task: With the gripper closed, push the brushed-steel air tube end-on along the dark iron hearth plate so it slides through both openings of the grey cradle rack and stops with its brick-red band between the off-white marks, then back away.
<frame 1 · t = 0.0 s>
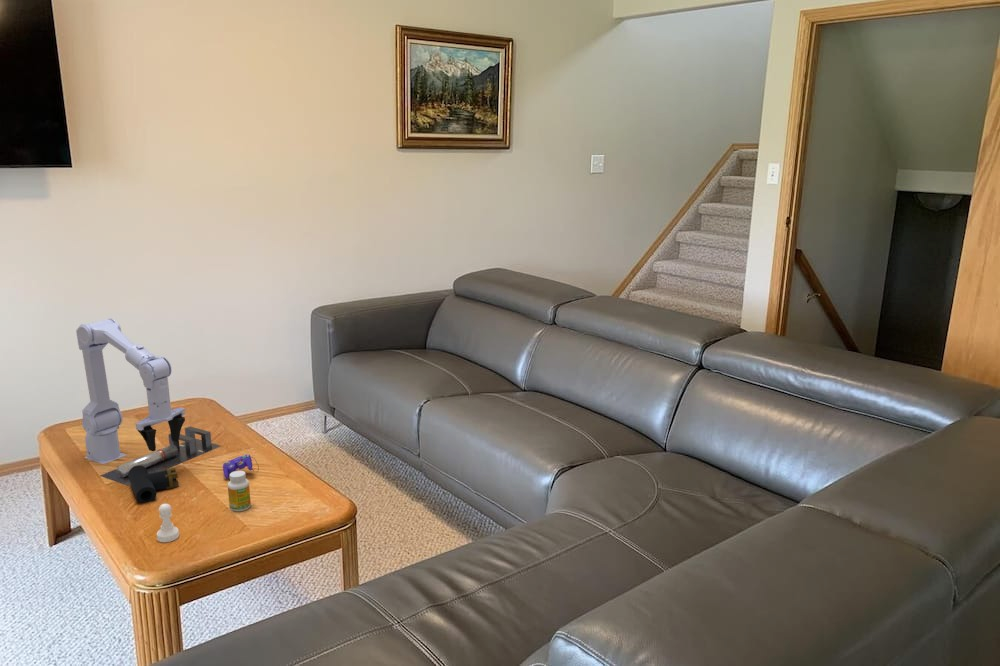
hand: (163, 445, 214), 10 cm above the table, tool pointing down, fingers open, 7 cm apart
game controller: (239, 475, 219), on the table
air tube: (149, 466, 223), point 1 cm above the table, touching grey cradle rack
chess pawn: (168, 538, 184), on the table
supplement bottle: (240, 507, 200), on the table
grey cradle rack: (160, 462, 227), on the table
pipe connector: (155, 490, 209), on the table, touching grey cradle rack
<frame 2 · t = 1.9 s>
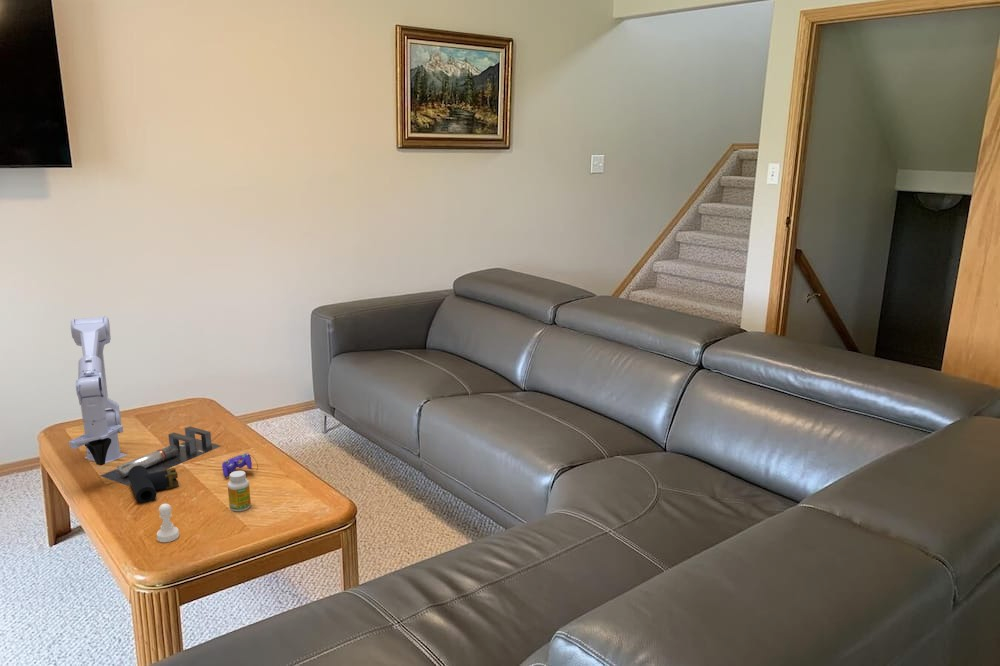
hand: (100, 464, 209), 7 cm above the table, tool pointing down, fingers closed
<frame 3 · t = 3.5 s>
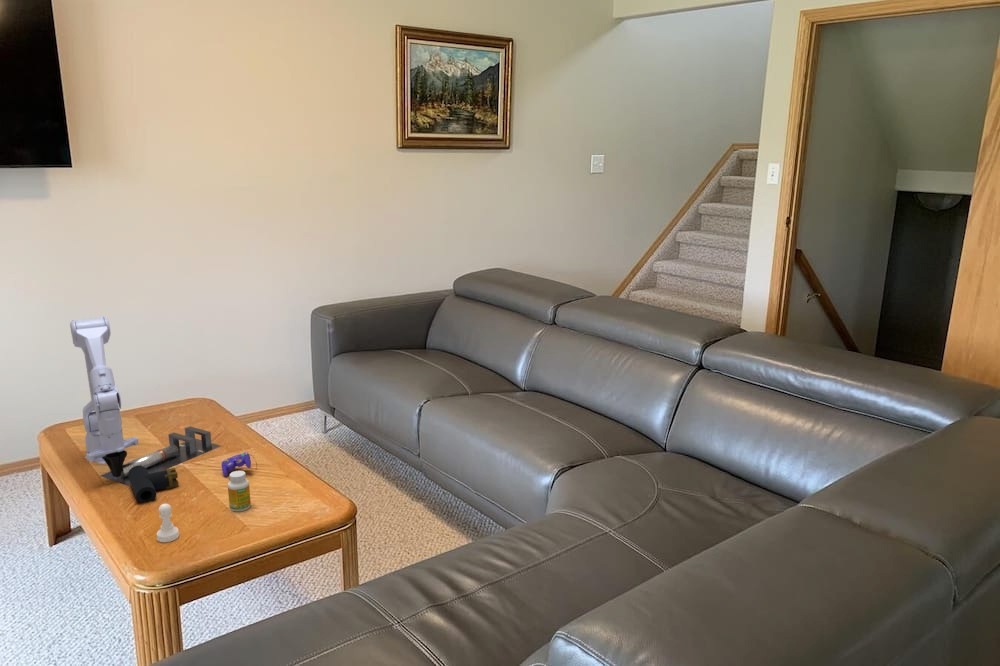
hand: (116, 475, 214), 1 cm above the table, tool pointing down, fingers closed
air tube: (149, 465, 223), point 1 cm above the table, tilted 7°, touching gripper
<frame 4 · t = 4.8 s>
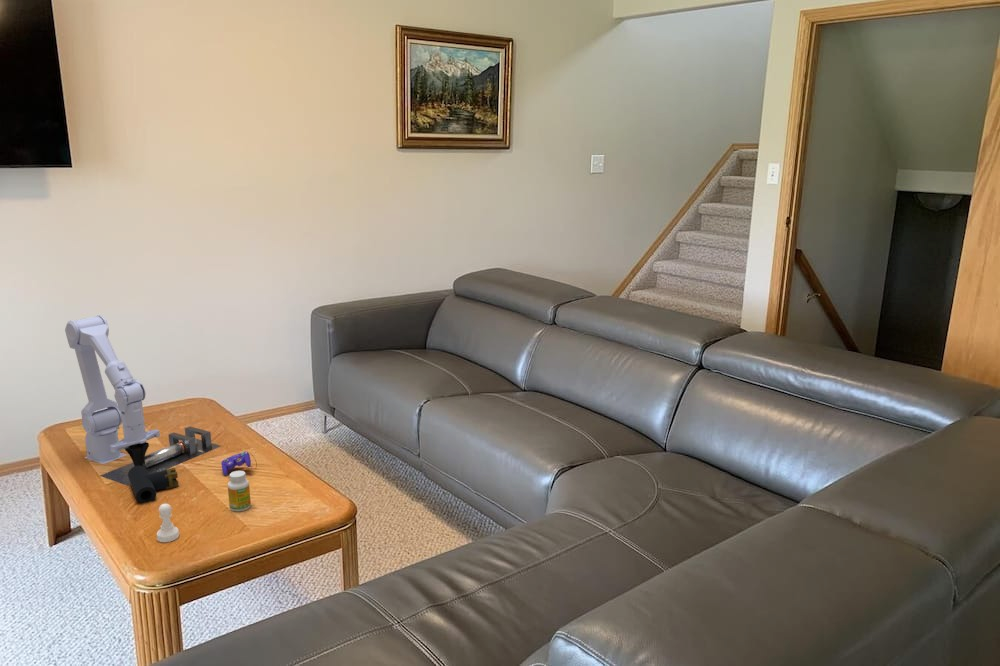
hand: (138, 466, 220), 2 cm above the table, tool pointing down, fingers closed
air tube: (169, 457, 229), point 1 cm above the table, tilted 8°, touching gripper
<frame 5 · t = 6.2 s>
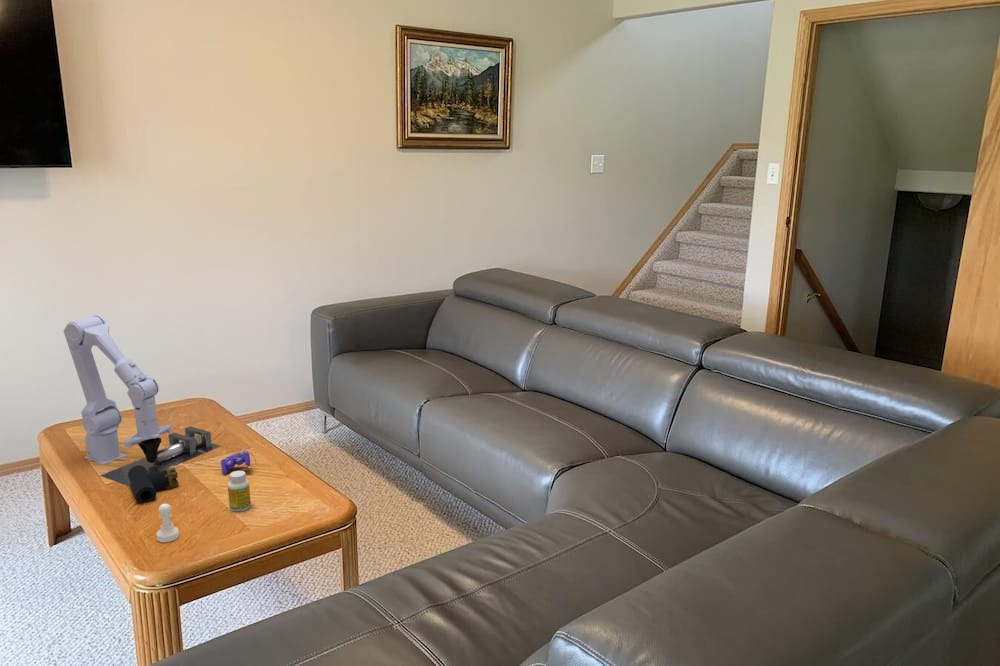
hand: (151, 461, 224), 2 cm above the table, tool pointing down, fingers closed
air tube: (181, 452, 233), point 1 cm above the table, tilted 9°, touching grey cradle rack, gripper
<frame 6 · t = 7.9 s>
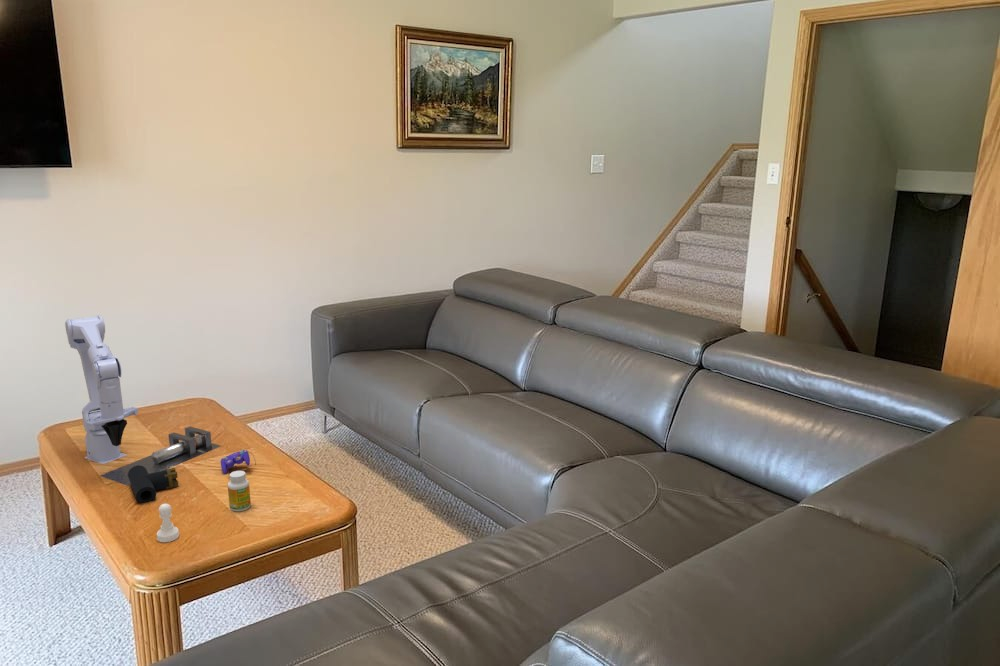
hand: (116, 444, 215), 10 cm above the table, tool pointing down, fingers closed
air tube: (181, 452, 233), point 1 cm above the table, tilted 10°, touching grey cradle rack
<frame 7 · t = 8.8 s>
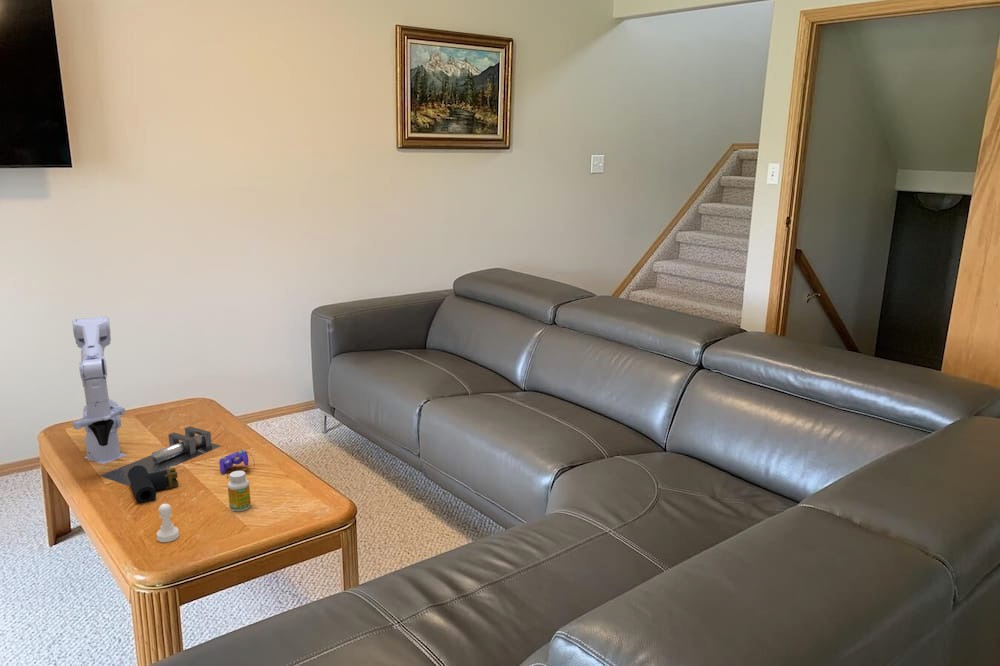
hand: (103, 444, 215), 10 cm above the table, tool pointing down, fingers closed
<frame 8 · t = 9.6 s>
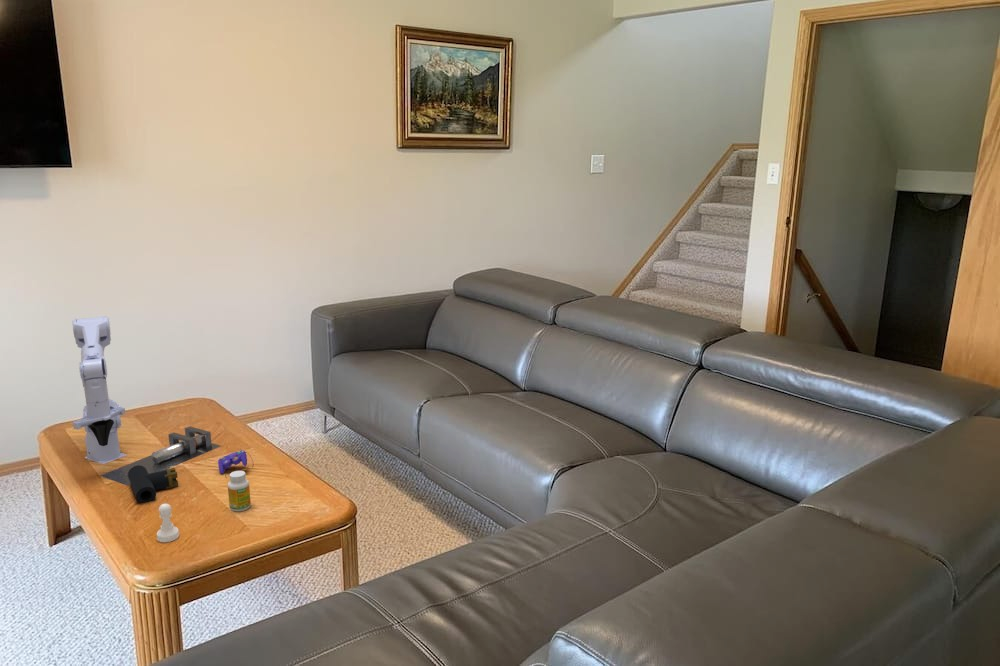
hand: (103, 444, 215), 10 cm above the table, tool pointing down, fingers closed
at the end: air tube 0.3 cm from the target spot, point 0.6 cm above the table; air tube moved 11.3 cm from its start; the gripper is holding nothing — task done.
